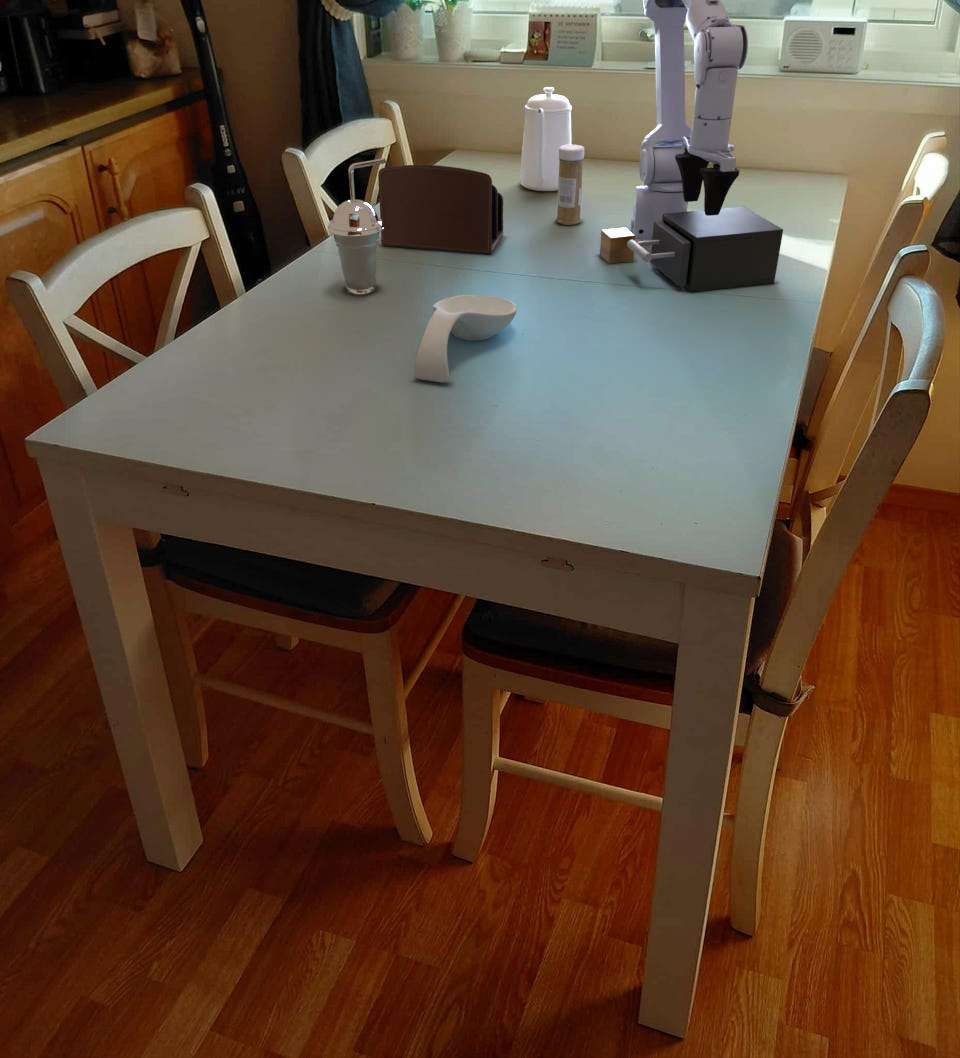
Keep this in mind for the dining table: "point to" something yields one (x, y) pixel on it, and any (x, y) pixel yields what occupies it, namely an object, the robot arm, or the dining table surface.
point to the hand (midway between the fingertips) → (701, 207)
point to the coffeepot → (544, 140)
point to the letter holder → (439, 209)
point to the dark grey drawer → (667, 252)
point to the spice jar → (570, 184)
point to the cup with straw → (357, 238)
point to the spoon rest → (459, 329)
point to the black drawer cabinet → (729, 248)
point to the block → (616, 245)
